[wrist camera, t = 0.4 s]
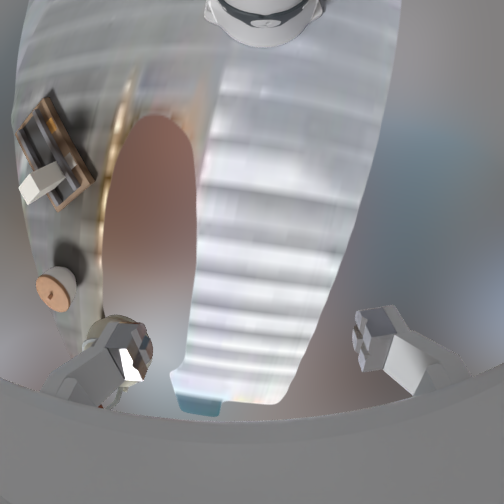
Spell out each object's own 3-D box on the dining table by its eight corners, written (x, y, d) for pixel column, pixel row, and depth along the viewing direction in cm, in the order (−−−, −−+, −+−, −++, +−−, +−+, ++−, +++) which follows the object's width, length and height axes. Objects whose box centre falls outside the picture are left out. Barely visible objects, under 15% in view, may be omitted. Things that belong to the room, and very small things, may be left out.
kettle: (88, 297, 63) (42, 369, 42) (151, 308, 64) (114, 394, 42) (110, 357, 76) (82, 422, 55) (164, 369, 76) (143, 441, 55)
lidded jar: (79, 300, 64) (63, 323, 56) (49, 279, 62) (31, 300, 54) (86, 273, 60) (67, 297, 52) (54, 251, 57) (33, 272, 49)
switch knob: (67, 175, 45) (39, 191, 37) (54, 188, 46) (27, 205, 39) (58, 159, 43) (29, 173, 36) (45, 173, 44) (18, 188, 37)
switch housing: (95, 181, 48) (86, 187, 45) (62, 209, 51) (53, 215, 48) (49, 97, 39) (38, 98, 35) (20, 132, 42) (10, 135, 39)
